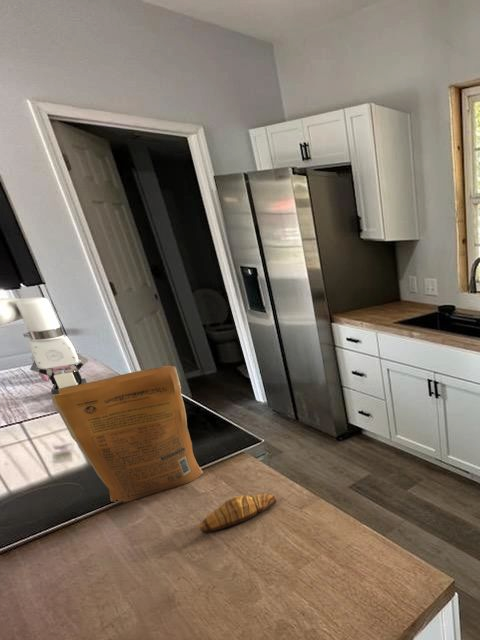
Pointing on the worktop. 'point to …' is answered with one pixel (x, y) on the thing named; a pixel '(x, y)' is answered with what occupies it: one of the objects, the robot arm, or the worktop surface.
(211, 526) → the croissant
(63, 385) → the charger head
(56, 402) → the pancake mix bag
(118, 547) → the worktop surface
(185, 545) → the worktop surface
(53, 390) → the adapter
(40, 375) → the video game controller
